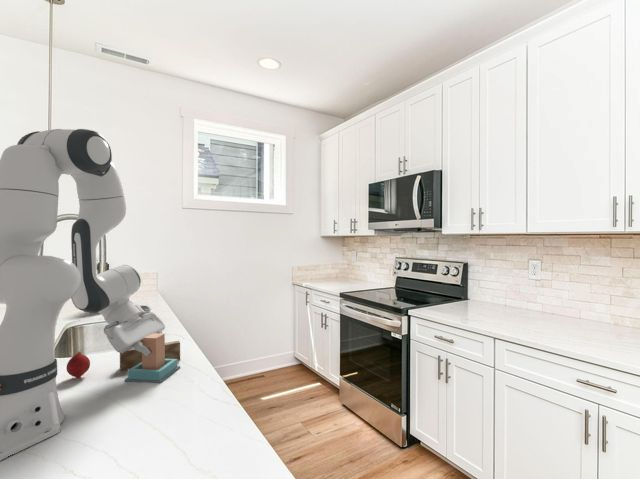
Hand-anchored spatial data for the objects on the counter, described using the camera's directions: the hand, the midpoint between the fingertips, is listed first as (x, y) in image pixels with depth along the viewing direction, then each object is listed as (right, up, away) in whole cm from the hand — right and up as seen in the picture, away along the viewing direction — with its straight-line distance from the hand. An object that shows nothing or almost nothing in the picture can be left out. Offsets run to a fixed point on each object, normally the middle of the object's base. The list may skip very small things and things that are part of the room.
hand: (155, 350), depth 104 cm
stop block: (-1, -5, 0) cm, 5 cm away
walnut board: (-6, -7, +9) cm, 13 cm away
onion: (-22, -8, -2) cm, 24 cm away
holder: (-1, -7, 0) cm, 8 cm away
